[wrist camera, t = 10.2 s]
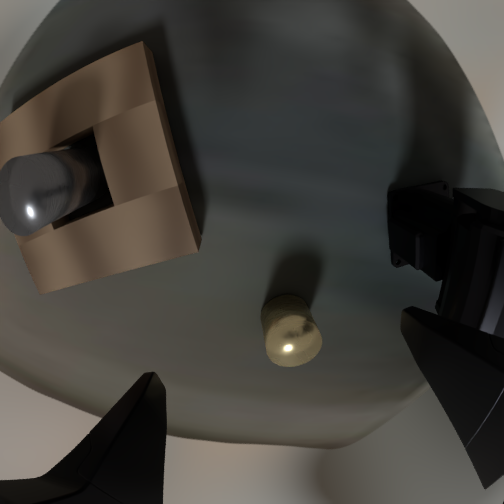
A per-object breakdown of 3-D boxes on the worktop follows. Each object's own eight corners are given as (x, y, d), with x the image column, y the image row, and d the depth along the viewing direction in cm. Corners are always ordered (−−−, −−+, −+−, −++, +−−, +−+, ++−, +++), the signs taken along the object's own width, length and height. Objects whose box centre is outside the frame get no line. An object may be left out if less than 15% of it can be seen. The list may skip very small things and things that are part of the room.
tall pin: (117, 191, 18) (56, 222, 11) (75, 208, 18) (9, 245, 11) (102, 138, 17) (34, 142, 9) (60, 159, 17) (-12, 176, 9)
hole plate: (152, 52, 15) (142, 40, 12) (201, 239, 20) (198, 252, 17) (7, 130, 15) (-11, 131, 12) (54, 281, 20) (40, 294, 18)
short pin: (305, 289, 22) (319, 317, 18) (311, 328, 23) (324, 358, 20) (255, 301, 22) (261, 332, 18) (266, 339, 24) (272, 372, 20)
